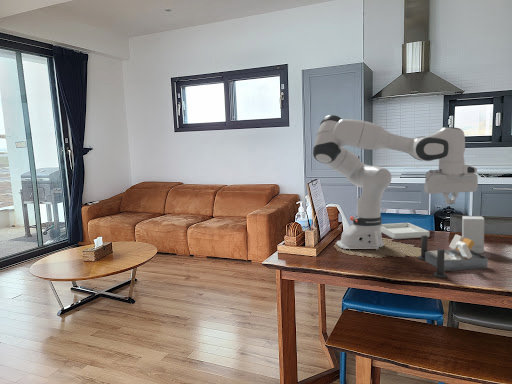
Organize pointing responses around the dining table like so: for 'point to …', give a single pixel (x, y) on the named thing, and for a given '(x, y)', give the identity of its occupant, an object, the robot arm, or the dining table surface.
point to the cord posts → (440, 257)
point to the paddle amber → (468, 243)
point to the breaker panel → (458, 260)
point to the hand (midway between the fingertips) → (450, 203)
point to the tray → (403, 230)
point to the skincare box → (474, 231)
